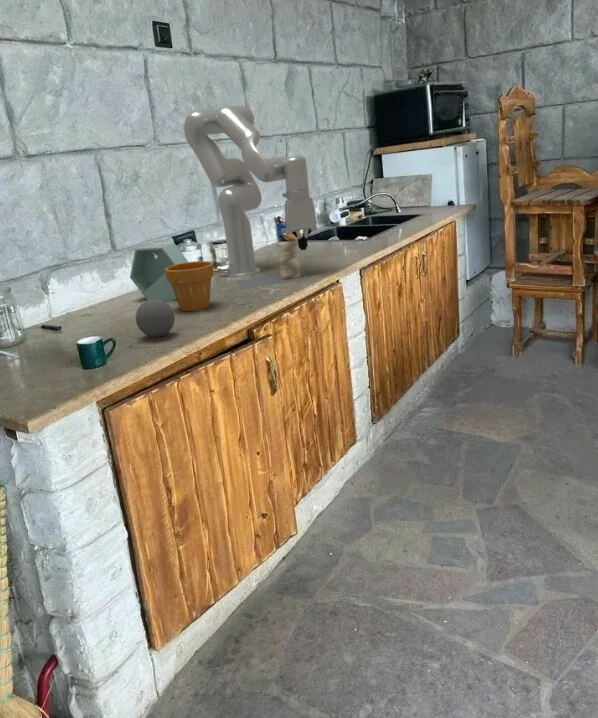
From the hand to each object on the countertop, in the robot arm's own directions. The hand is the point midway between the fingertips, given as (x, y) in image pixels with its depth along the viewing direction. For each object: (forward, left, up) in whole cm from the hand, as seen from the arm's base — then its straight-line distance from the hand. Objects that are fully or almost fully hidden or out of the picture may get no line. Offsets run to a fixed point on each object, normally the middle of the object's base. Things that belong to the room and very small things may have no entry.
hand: (303, 249), depth 235 cm
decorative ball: (-51, -52, -10) cm, 73 cm away
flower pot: (-40, -24, -10) cm, 47 cm away
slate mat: (-12, 0, -9) cm, 15 cm away
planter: (-49, -3, -10) cm, 50 cm away
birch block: (-6, 0, -9) cm, 10 cm away
